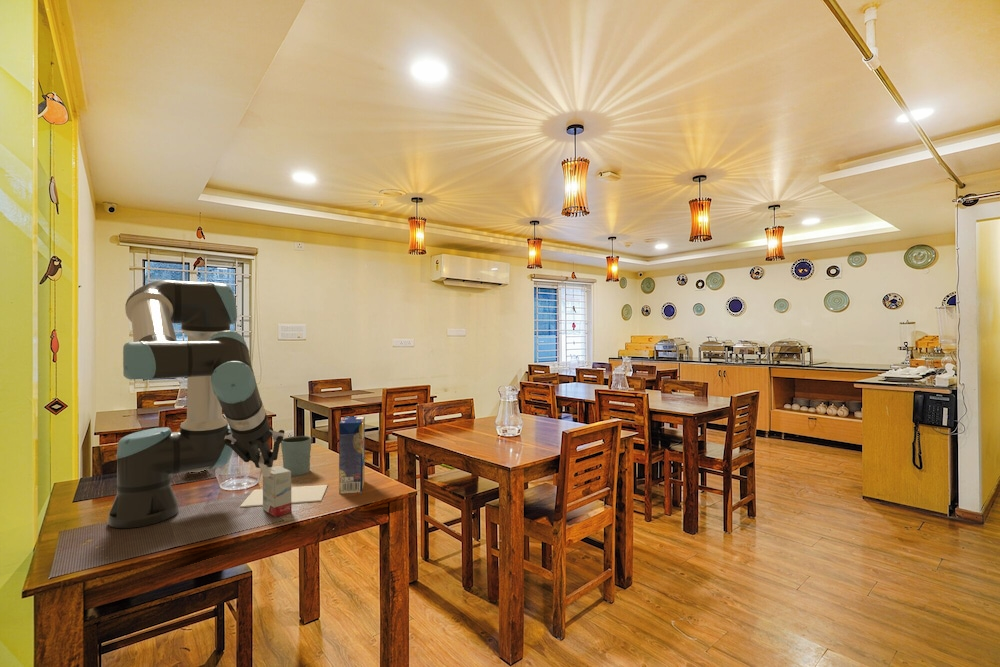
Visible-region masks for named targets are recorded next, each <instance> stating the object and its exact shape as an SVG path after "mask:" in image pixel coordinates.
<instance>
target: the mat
mask: <svg viewBox="0 0 1000 667" xmlns="http://www.w3.org/2000/svg"><path fill="white" fill-rule="evenodd" d="M328 486H329V485H328V484H321V485H320V484H319V485H307V486H304V485H303V486H291V505H293V504H303V503H306V504H307V503H317V502H322V500H323V498H324V496H325V493H326V490H327V489H328ZM246 507H247V508H250V507H253V508H254V507H263V488H260V489H253V490H252V492H251V493H250V494H249V495H248V496H247V497H246V498H245V500H244V501H243V502H242V503H241V504H240V506H239V508H246Z"/></svg>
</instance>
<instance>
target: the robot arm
mask: <svg viewBox="0 0 1000 667" xmlns="http://www.w3.org/2000/svg"><path fill="white" fill-rule="evenodd" d="M237 309H238V308H237V302H236V299H235V294H234V291H233V289H232V287H231V286H230V285H229V284H225V283H222V282H221V283H219V282H213V281H212V282H211V281H191V280H189V281H188V280H173V279H172V280H171V279H163V280H157V281H153V282H150V283H147V284H144V285H142V286H140V287H139V288H136V290H135V291H134V290H133V292H131V294H130V295H129V296H128V298H127V299H126V303H125V315H126V317H127V319H128V321H130V322H131V325H132V327H131V329H132V339H133V341H129V342H126V343H124V345H123V347H122V367H123V372H122V373H123V374H122V375H123V377H125V379H128V380H145V381H149V380H157V379H159V380H160V379H173V378H186V380H187V382H186V384H187V385H186V386H187V388H186V391H187V392H186V394H187V395H186V419H185V420H184V421H183V422H181V423H180V425H179V427H180V428H179V430H180V431H178V430H177V431H172V429H171V428H170V427H166V426H165V427H164V426H163V427H154V428H149V429H143V430H139V431H135V432H132V433H130V434H127V435H125V436H123V437H122V438H120V439H119V440H118V442H117V447H116V455H115V459H116V460H117V461H116V462H117V463H116V464H117V465H116V467H117V468H116V496H115V498H114V500H113V502H112V505H111V509H110V511H109V513H108V526H109V527H110V528H114V529H115V528H116V529H133V528H139V527H145V526H149V525H155V524H157V523H161V522H163V521H166V520H168V519H171V518H172V517H174V516H175V515H176V514H178V513H179V500H178V499H177V496H176V494H175V490H174V489H173V487H172V484H171V482H172V480H171V477H172V476H173V475H177V474H184V473H188V472H191V471H197V470H204V469H207V470H212V469H214V468H219V467H223V466H225V465H227V464H228V463H229V461H230V460H231V459H232V458H231V457H232V454H233V451H234V452H235V454H236V455H237V456H238V457H239V458H240V459H241V460H242V461H243V462H244V463H249V462H252V463H253V464H254V466H255V468H256V469H260V471H261V472H260V473H262V478H263V477H268V476H270V473H271V468H272V467H274V465H273V464H274V461H277V460H278V456H279V450H280V446H281V442H282V441H283V439H284V436H285V430H284V429H280V430H278V431H277V430H274V428H273V427H272V426H270V422H269V418H268V415H267V412H266V409H265V406H264V404H263V401H262V397H261V395H260V391H259V388H258V384H257V380H256V376H255V372H254V369H253V367H252V366H253V365H252V361H251V357H250V350H249V347H248V346H247V342H246V341H245V338H244V337H243V335H242V334H240V333H239V332H237V331H233V330H231V325H235V324H237V321H238V320H237V318H238V310H237ZM173 324H180V325H181V327H180V329H181V331H182V332H183V333H184V334H186V336H187V340H184V341H183V340H181V341H179V340H178V341H177V336H176V332H175V329H174V325H173ZM223 414H224V416H225V418H224V417H223ZM271 437H272V440H273V446H272V448H273V449H272V450H271V448H270V444H269V442H268V440H270V438H271Z"/></svg>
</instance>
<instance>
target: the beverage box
mask: <svg viewBox="0 0 1000 667" xmlns="http://www.w3.org/2000/svg"><path fill="white" fill-rule="evenodd" d="M365 418H366V416H365V415H363V416H343V417H342V419H341V420H340V421H339V424H338V427H339V430H338V432H339V433H338V434H339V435H338V441H339V442H338V444H339V445H338V446H339V447H338V448H339V449H338V452H339V453H338V455H339V456H338V459H339V460H338V469H339V470H338V472H339V473H338V478H339V479H338V483H339V484H338V487H339V488H338V494H339V495H340V494H341V495H342V494H343V495H344V494H354V493H357V492H358V493H362V492H363V489H364V485H365V480H366V479H365V474H366V473H365V470H366V469H365V464H366V462H365V461H366V460H365V458H366V457H365V455H366V454H365V449H366V448H365V443H366V442H365V438H366V436H365V431H366V429H365V427H366V426H365V421H366V420H365Z"/></svg>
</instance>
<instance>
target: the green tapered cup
mask: <svg viewBox="0 0 1000 667" xmlns="http://www.w3.org/2000/svg"><path fill="white" fill-rule="evenodd" d="M280 446H281V448H280V449H281V454H282V455H281V456H282V465H283V466H282V467H283V468H285V469H287V470H289V471H291V477H294V476H295V477H296V476H303V475H306V474H308V473H310V470H311V450H312V437H311V436H308V435H295V436H289V437H285V438H283V441H282V442H281V443H280Z"/></svg>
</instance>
